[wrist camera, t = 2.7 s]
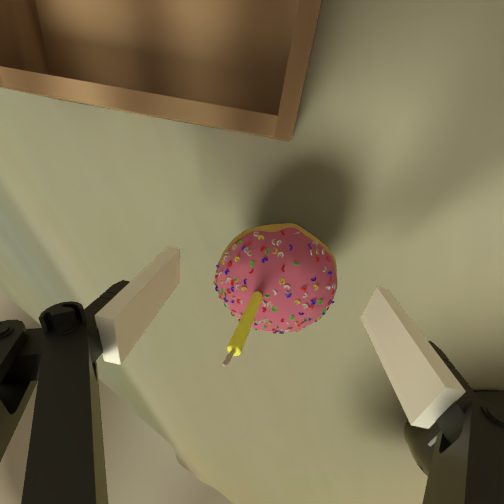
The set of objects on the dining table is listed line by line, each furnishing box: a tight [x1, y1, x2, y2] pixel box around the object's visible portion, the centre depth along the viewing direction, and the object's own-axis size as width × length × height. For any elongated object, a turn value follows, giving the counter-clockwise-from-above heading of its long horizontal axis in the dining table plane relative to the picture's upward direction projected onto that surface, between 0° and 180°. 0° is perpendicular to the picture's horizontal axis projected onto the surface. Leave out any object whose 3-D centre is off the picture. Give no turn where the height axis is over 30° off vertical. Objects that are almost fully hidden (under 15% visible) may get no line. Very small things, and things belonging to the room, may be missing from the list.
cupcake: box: [213, 223, 337, 366], centre depth 14 cm, size 9×8×12 cm
